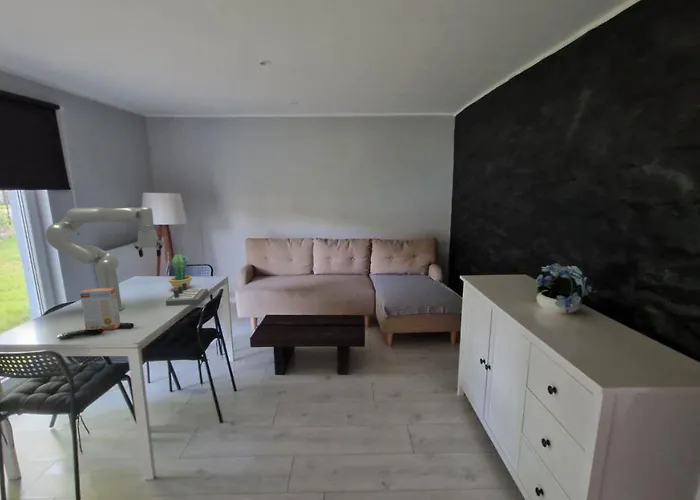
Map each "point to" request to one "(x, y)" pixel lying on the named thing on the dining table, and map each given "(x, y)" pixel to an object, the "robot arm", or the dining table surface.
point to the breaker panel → (187, 296)
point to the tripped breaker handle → (180, 289)
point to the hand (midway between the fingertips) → (150, 256)
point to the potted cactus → (180, 271)
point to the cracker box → (100, 308)
